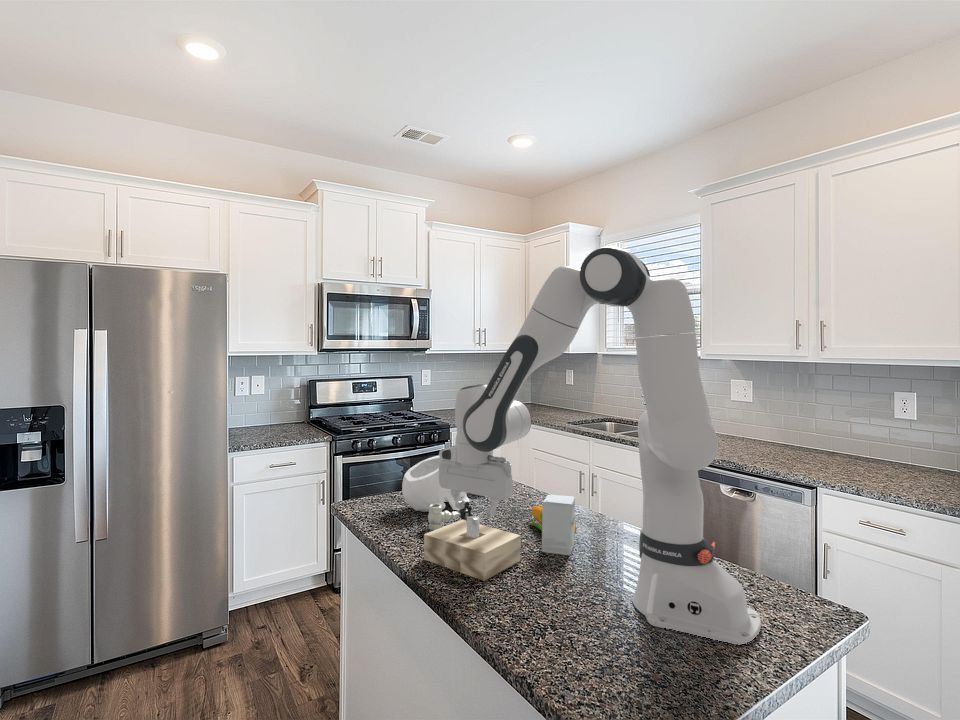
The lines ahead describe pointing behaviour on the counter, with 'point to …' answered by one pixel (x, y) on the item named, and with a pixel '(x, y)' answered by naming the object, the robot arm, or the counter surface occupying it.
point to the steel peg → (473, 527)
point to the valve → (445, 515)
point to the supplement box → (558, 524)
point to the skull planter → (427, 486)
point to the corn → (540, 517)
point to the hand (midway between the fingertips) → (475, 511)
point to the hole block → (472, 549)
